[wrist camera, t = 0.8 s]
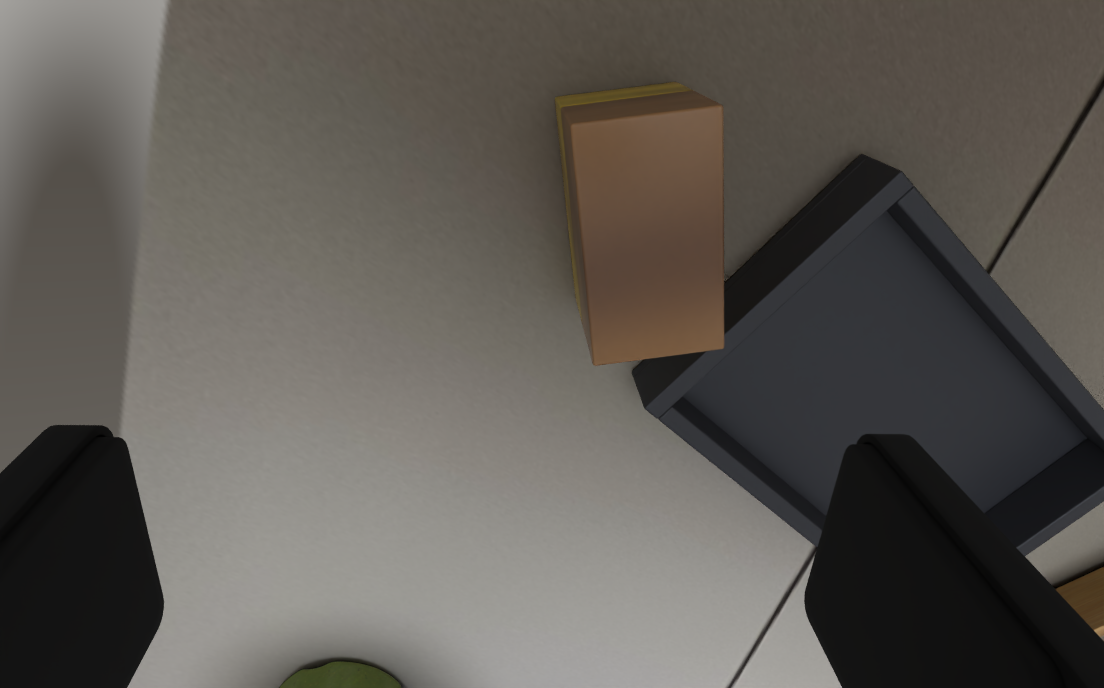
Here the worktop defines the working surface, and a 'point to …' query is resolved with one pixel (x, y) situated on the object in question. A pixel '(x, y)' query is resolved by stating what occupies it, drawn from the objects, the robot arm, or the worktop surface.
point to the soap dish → (1087, 599)
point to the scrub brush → (645, 219)
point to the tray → (882, 368)
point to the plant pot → (341, 677)
